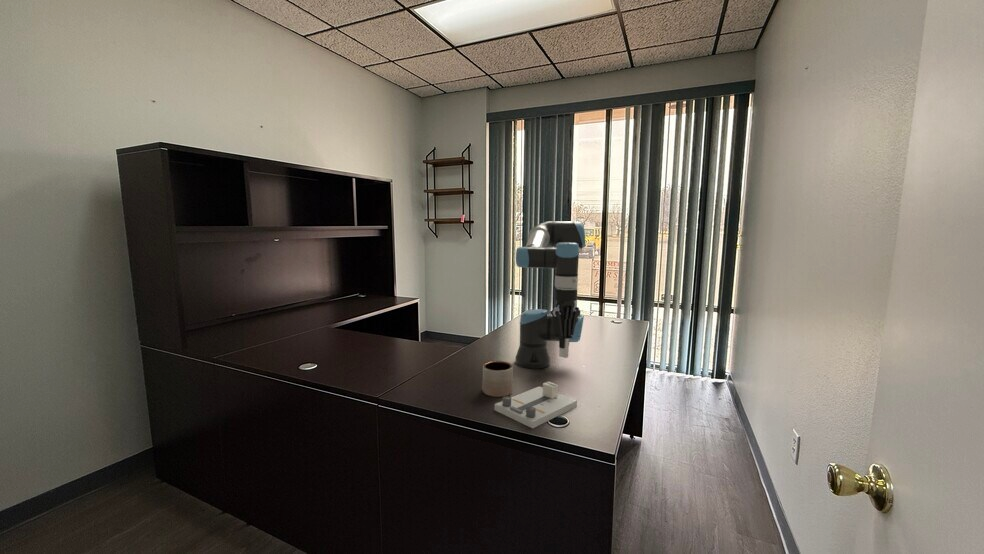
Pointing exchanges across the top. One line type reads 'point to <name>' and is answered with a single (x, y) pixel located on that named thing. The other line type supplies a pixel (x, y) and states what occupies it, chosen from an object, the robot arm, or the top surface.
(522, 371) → the top surface
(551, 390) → the fader
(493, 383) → the planter
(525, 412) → the console
